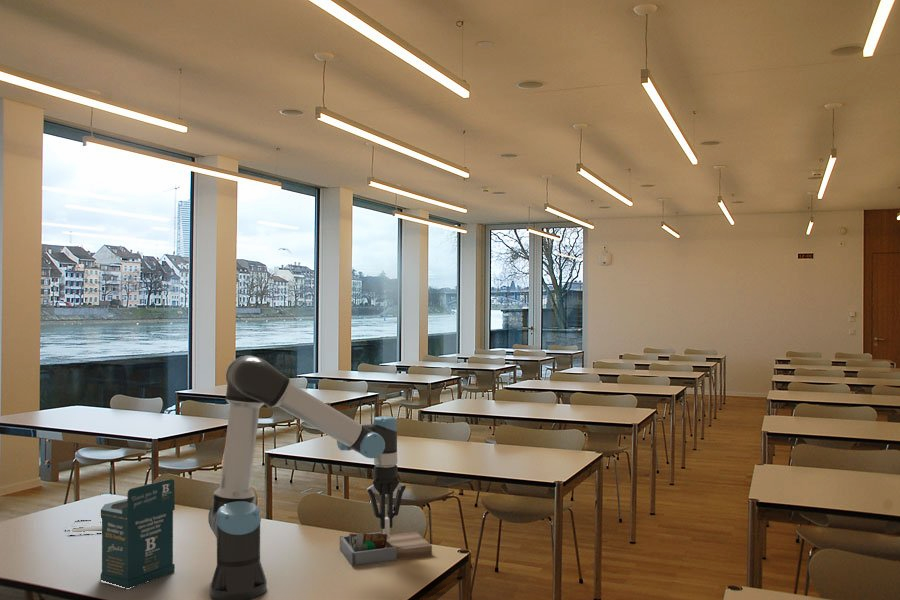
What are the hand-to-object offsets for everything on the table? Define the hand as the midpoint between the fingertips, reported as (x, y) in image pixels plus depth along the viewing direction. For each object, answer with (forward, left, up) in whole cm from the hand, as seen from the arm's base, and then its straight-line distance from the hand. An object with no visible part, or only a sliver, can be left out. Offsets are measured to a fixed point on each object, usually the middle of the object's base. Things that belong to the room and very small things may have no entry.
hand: (386, 538), depth 236 cm
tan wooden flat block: (0, -7, -5) cm, 8 cm away
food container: (0, +1, -2) cm, 2 cm away
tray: (0, +6, -5) cm, 8 cm away
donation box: (+7, +75, -5) cm, 76 cm away
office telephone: (+68, +90, -5) cm, 113 cm away
